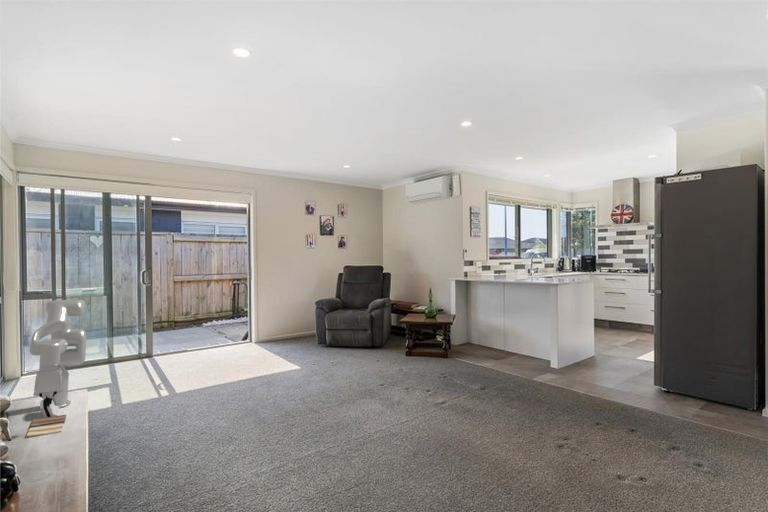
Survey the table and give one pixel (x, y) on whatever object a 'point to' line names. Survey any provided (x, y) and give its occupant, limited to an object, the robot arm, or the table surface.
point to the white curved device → (49, 409)
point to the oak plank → (44, 430)
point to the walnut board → (48, 421)
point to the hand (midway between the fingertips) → (47, 406)
